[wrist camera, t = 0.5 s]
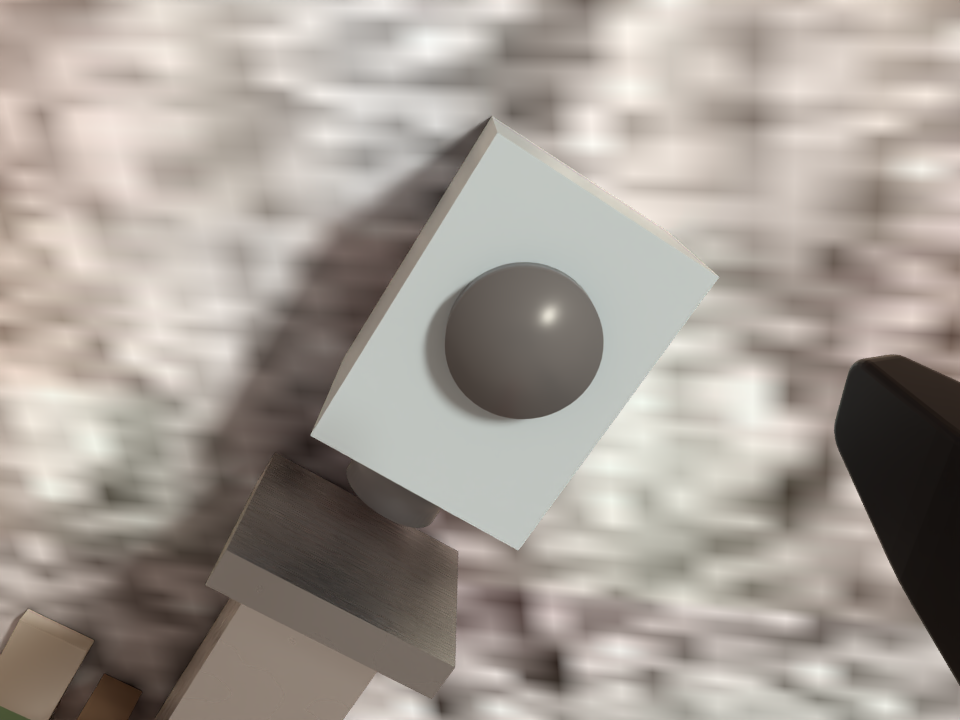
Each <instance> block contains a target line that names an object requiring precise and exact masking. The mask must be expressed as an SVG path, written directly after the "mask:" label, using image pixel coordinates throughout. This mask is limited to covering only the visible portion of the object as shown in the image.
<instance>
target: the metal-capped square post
mask: <svg viewBox="0 0 960 720" xmlns="http://www.w3.org/2000/svg"><path fill="white" fill-rule="evenodd" d="M457 578H458V551H457V550H455V549H453V548H451V547H449V546H447V545H445V544H444V543H442V542H440V541H438V540H436V539H434V538H432V537H431V536H429V535H427V534H425V533H423V532H421V531H420V530H418V529H416V528H413V527H408V526H404V525H401V524H398V523H395V522H393V521H391V520H389V519H387V518H385V517H383V516H382V515H380V514H379V513H377V512H376V511H374V510H373V509H371V508H370V507H369V506H368V505H367V504H365V503H364V502H363V501H362V500H361V499H360V498H358V497H357V496H355V495H353V494H351V493H349V492H347V491H346V490H344V489H342V488H340V487H338V486H336V485H334V484H333V483H331V482H329V481H327V480H325V479H323V478H321V477H320V476H318V475H316V474H314V473H312V472H310V471H309V470H307V469H305V468H303V467H301V466H299V465H297V464H296V463H294V462H292V461H290V460H288V459H286V458H284V457H283V456H281V455H279V454H277V453H274V455H273V457H272V458H271V460H270V462H269V463H268V465H267V467H266V468H265V470H264V471H263V473H262V475H261V476H260V478H259V480H258V481H257V483H256V485H255V487H254V489H253V491H252V493H251V495H250V497H249V499H248V501H247V503H246V505H245V507H244V509H243V511H242V513H241V515H240V517H239V519H238V521H237V523H236V525H235V527H234V529H233V531H232V533H231V535H230V537H229V539H228V541H227V543H226V545H225V547H224V549H223V551H222V553H221V555H220V556H219V558H218V560H217V562H216V564H215V566H214V568H213V570H212V572H211V574H210V576H209V578H208V580H207V582H206V584H205V586H207V587H209V588H211V589H213V590H215V591H217V592H219V593H221V594H223V595H225V596H227V597H229V600H228V602H227V603H226V605H225V606H224V608H223V610H222V611H221V613H220V614H219V616H218V618H217V619H216V621H215V622H214V624H213V626H212V627H211V629H210V630H209V632H208V634H207V635H206V637H205V639H204V640H203V642H202V643H201V645H200V647H199V648H198V650H197V651H196V653H195V655H194V656H193V658H192V659H191V661H190V663H189V664H188V666H187V667H186V669H185V671H184V672H183V674H182V675H181V677H180V679H179V680H178V682H177V684H176V685H175V687H174V688H173V690H172V692H171V693H170V695H169V696H168V698H167V700H166V701H165V703H164V704H163V706H162V708H161V709H160V711H159V712H158V714H157V716H156V717H155V719H154V720H343V719H344V718H345V716H346V715H347V713H348V712H349V711H350V709H351V708H352V706H353V705H354V704H355V702H356V701H357V699H358V698H359V696H360V695H361V694H362V692H363V691H364V689H365V688H366V687H367V685H368V684H369V682H370V681H371V679H372V678H373V677H374V675H375V674H376V672H379V673H381V674H383V675H385V676H387V677H389V678H391V679H393V680H395V681H397V682H399V683H401V684H403V685H405V686H407V687H409V688H411V689H413V690H415V691H417V692H419V693H421V694H423V695H425V696H427V697H429V698H431V699H432V698H433V697H434V695H435V694H436V692H437V691H438V690H439V688H440V687H441V686H442V684H443V683H444V682H445V680H446V679H447V678H448V676H449V675H450V674H451V672H452V671H453V669H454V668H455V653H456V616H457Z"/></svg>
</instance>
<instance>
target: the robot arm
mask: <svg viewBox="0 0 960 720" xmlns="http://www.w3.org/2000/svg"><path fill="white" fill-rule="evenodd" d="M834 434H835V440H836V444H837V447H838V450H839V452H840V454H841V457H842V459H843V461H844V463H845V465H846V468H847V470H848V472H849V474H850V476H851V479H852V481H853V483H854V485H855V487H856V490H857V492H858V494H859V496H860V498H861V501H862V503H863V505H864V507H865V510H866V512H867V514H868V516H869V518H870V521H871V523H872V525H873V527H874V529H875V532H876V534H877V536H878V538H879V540H880V543H881V545H882V547H883V549H884V551H885V554H886V556H887V558H888V560H889V562H890V564H891V566H892V568H893V570H894V572H895V574H896V576H897V578H898V581H899V582H900V584H901V586H902V588H903V590H904V591H905V593H906V595H907V597H908V599H909V600H910V602H911V604H912V606H913V607H914V609H915V611H916V612H917V614H918V616H919V617H920V619H921V621H922V623H923V624H924V626H925V628H926V629H927V631H928V633H929V634H930V636H931V638H932V639H933V641H934V643H935V645H936V646H937V648H938V650H939V651H940V653H941V655H942V656H943V658H944V660H945V661H946V663H947V665H948V667H949V668H950V670H951V672H952V673H953V675H954V677H955V678H956V680H957V682H958V684H959V685H960V382H958V381H956V380H954V379H952V378H950V377H948V376H945V375H943V374H941V373H939V372H937V371H934V370H932V369H930V368H928V367H926V366H924V365H921V364H919V363H917V362H915V361H913V360H910V359H908V358H906V357H904V356H901V355H884V356H878V357H871V358H865V359H861V360H858V361H856V362H855V363H854V364H853V365H852V367H851V368H850V370H849V372H848V376H847V379H846V383H845V387H844V390H843V394H842V398H841V401H840V405H839V409H838V412H837V416H836V420H835V426H834Z"/></svg>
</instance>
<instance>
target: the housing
mask: <svg viewBox="0 0 960 720" xmlns="http://www.w3.org/2000/svg"><path fill="white" fill-rule="evenodd" d="M94 641H95V640H93V639H90V638H88V637H86V636H84V635H82V634H80V633H78V632H76V631H74V630H72V629H70V628H67V627H65V626H63V625H61V624H59V623H57V622H55V621H53V620H51V619H49V618H46V617H44V616H42V615H40V614H38V613H36V612H34V611H32V610H30V609H28V610H27V611H26V612H25V614H24V615H23V616H22V617H21V619H20V620H19V622H18V624H17V626H16V627H15V629H14V631H13V633H12V635H11V637H10V639H9V640H8V642H7V644H6V646H5V648H4V650H3V652H2V653H1V655H0V720H49V719H50V717H51V715H52V714H53V712H54V710H55V708H56V707H57V705H58V703H59V701H60V700H61V698H62V696H63V695H64V693H65V691H66V689H67V688H68V686H69V684H70V682H71V681H72V679H73V677H74V675H75V674H76V672H77V670H78V668H79V667H80V665H81V663H82V662H83V660H84V658H85V656H86V655H87V653H88V651H89V649H90V648H91V646H92V644H93V642H94ZM141 693H142V691H140V690H138V689H136V688H134V687H132V686H130V685H127V684H125V683H123V682H121V681H119V680H117V679H115V678H113V677H110V676H108V675H106V674H104V675H103V676H102V678H101V680H100V682H99V683H98V685H97V687H96V688H95V690H94V692H93V693H92V695H91V697H90V698H89V700H88V702H87V703H86V705H85V707H84V708H83V710H82V712H81V713H80V715H79V717H78V718H77V720H128V718H129V716H130V714H131V713H132V711H133V709H134V707H135V705H136V703H137V701H138V699H139V697H140V695H141Z"/></svg>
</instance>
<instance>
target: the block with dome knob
mask: <svg viewBox="0 0 960 720" xmlns="http://www.w3.org/2000/svg"><path fill="white" fill-rule="evenodd" d="M718 278H719V276H718V275H716V274H715V273H714V272H713V271H712V270H711V269H710V268H709V267H707V266H706V265H705V264H704V263H703V262H702V261H701V260H699V259H698V258H697V257H696V256H695V255H694V254H693V253H692V252H690V251H689V250H688V249H687V248H686V247H685V246H684V245H682V244H681V243H680V242H679V241H678V240H677V239H676V238H675V237H673V236H672V235H671V234H670V233H669V232H668V231H667V230H665V229H664V228H662V227H661V226H659V225H658V224H656V223H655V222H653V221H652V220H650V219H649V218H647V217H646V216H644V215H642V214H641V213H639V212H638V211H636V210H635V209H633V208H632V207H630V206H629V205H627V204H626V203H624V202H623V201H621V200H620V199H618V198H616V197H615V196H613V195H612V194H610V193H609V192H607V191H606V190H604V189H603V188H601V187H600V186H598V185H597V184H595V183H594V182H592V181H591V180H589V179H587V178H586V177H584V176H583V175H581V174H580V173H578V172H577V171H575V170H574V169H572V168H571V167H569V166H568V165H566V164H565V163H563V162H561V161H560V160H558V159H557V158H555V157H554V156H552V155H551V154H549V153H548V152H546V151H545V150H543V149H542V148H540V147H539V146H537V145H536V144H534V143H532V142H531V141H529V140H528V139H526V138H525V137H523V136H522V135H520V134H519V133H517V132H516V131H514V130H513V129H511V128H510V127H508V126H506V125H505V124H503V123H502V122H500V121H499V120H497V119H496V118H494V117H493V116H491V118H490V120H489V121H488V123H487V125H486V126H485V128H484V130H483V131H482V133H481V134H480V136H479V138H478V139H477V141H476V143H475V144H474V146H473V147H472V149H471V151H470V152H469V154H468V156H467V157H466V159H465V161H464V162H463V164H462V165H461V167H460V169H459V170H458V172H457V174H456V175H455V177H454V179H453V180H452V182H451V183H450V185H449V187H448V188H447V190H446V192H445V193H444V195H443V196H442V198H441V200H440V201H439V203H438V205H437V206H436V208H435V210H434V211H433V213H432V214H431V216H430V218H429V219H428V221H427V223H426V224H425V226H424V227H423V229H422V231H421V232H420V234H419V236H418V237H417V239H416V241H415V242H414V244H413V245H412V247H411V249H410V250H409V252H408V254H407V255H406V257H405V259H404V260H403V262H402V263H401V265H400V267H399V268H398V270H397V272H396V273H395V275H394V276H393V278H392V280H391V281H390V283H389V285H388V286H387V288H386V290H385V291H384V293H383V294H382V296H381V298H380V299H379V301H378V303H377V304H376V306H375V308H374V309H373V311H372V312H371V314H370V316H369V317H368V319H367V321H366V322H365V324H364V325H363V327H362V329H361V330H360V332H359V334H358V335H357V337H356V339H355V340H354V342H353V343H352V345H351V347H350V348H349V350H348V352H347V353H346V355H345V357H344V358H343V361H342V363H341V365H340V368H339V370H338V372H337V375H336V377H335V379H334V382H333V384H332V386H331V389H330V391H329V393H328V396H327V398H326V400H325V402H324V405H323V407H322V409H321V412H320V414H319V416H318V419H317V421H316V423H315V426H314V428H313V430H312V433H311V435H310V436H312V437H314V438H316V439H317V440H319V441H321V442H323V443H325V444H326V445H328V446H330V447H332V448H334V449H335V450H337V451H339V452H341V453H343V454H344V455H346V456H348V457H350V458H352V461H351V462H350V464H349V465H348V467H347V471H346V476H347V480H348V482H349V484H350V486H351V488H352V489H353V490H354V492H355V493H356V494H357V496H358V497H359V498H360V499H361V500H362V501H363V502H364V503H365V504H367V505H368V506H369V507H370V508H371V509H373V510H374V511H376V512H377V513H379V514H380V515H382V516H383V517H385V518H387V519H389V520H391V521H393V522H395V523H398V524H401V525H404V526H408V527H413V528H422V527H426V526H428V525H430V524H431V523H432V522H433V520H434V519H435V517H436V516H437V514H438V513H439V511H440V510H441V509H444V510H446V511H448V512H449V513H451V514H453V515H455V516H457V517H458V518H460V519H462V520H464V521H466V522H468V523H469V524H471V525H473V526H475V527H477V528H478V529H480V530H482V531H484V532H486V533H487V534H489V535H491V536H493V537H495V538H496V539H498V540H500V541H502V542H504V543H506V544H507V545H509V546H511V547H513V548H515V549H516V550H519V549H520V548H521V546H522V545H523V544H524V542H525V541H526V540H527V538H528V537H529V535H530V534H531V533H532V531H533V530H534V529H535V527H536V526H537V525H538V523H539V522H540V520H541V519H542V518H543V516H544V515H545V514H546V512H547V511H548V510H549V508H550V507H551V505H552V504H553V503H554V501H555V500H556V499H557V497H558V496H559V495H560V493H561V492H562V490H563V489H564V488H565V486H566V485H567V484H568V482H569V481H570V480H571V478H572V477H573V475H574V474H575V473H576V471H577V470H578V469H579V467H580V466H581V465H582V463H583V462H584V460H585V459H586V458H587V456H588V455H589V454H590V452H591V451H592V450H593V448H594V447H595V446H596V444H597V443H598V441H599V440H600V439H601V437H602V436H603V435H604V433H605V432H606V431H607V429H608V428H609V426H610V425H611V424H612V422H613V421H614V420H615V418H616V417H617V416H618V414H619V413H620V411H621V410H622V409H623V407H624V406H625V405H626V403H627V402H628V401H629V399H630V398H631V396H632V395H633V394H634V392H635V391H636V390H637V388H638V387H639V386H640V384H641V383H642V381H643V380H644V379H645V377H646V376H647V375H648V373H649V372H650V371H651V369H652V368H653V366H654V365H655V364H656V362H657V361H658V360H659V358H660V357H661V356H662V354H663V353H664V351H665V350H666V349H667V347H668V346H669V345H670V343H671V342H672V341H673V339H674V338H675V336H676V335H677V334H678V332H679V331H680V330H681V328H682V327H683V326H684V324H685V323H686V321H687V320H688V319H689V317H690V316H691V315H692V313H693V312H694V311H695V309H696V308H697V306H698V305H699V304H700V302H701V301H702V300H703V298H704V297H705V296H706V294H707V293H708V292H709V290H710V289H711V287H712V286H713V285H714V283H715V282H716V281H717V279H718Z"/></svg>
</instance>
